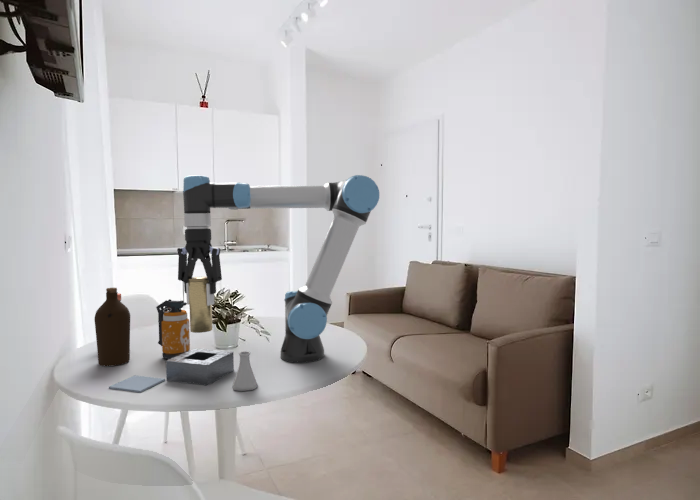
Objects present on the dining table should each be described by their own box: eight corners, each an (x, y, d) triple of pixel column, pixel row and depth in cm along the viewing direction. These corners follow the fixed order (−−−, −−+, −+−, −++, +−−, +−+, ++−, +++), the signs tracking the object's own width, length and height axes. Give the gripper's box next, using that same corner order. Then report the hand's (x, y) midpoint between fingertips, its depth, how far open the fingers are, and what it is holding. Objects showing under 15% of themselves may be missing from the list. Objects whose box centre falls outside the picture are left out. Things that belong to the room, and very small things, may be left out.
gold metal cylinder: (216, 328, 142) (215, 276, 141) (204, 333, 136) (202, 279, 134) (198, 327, 144) (197, 276, 142) (185, 332, 137) (183, 278, 136)
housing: (233, 370, 145) (233, 351, 145) (207, 385, 132) (207, 364, 131) (195, 366, 149) (195, 348, 149) (166, 380, 136) (166, 360, 135)
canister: (180, 361, 154) (179, 302, 153) (151, 359, 157) (149, 301, 155) (195, 353, 163) (193, 298, 162) (167, 352, 165) (165, 297, 164)
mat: (165, 380, 136) (165, 378, 136) (140, 392, 126) (140, 390, 126) (134, 376, 139) (134, 375, 139) (108, 388, 130) (108, 386, 130)
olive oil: (137, 361, 154) (134, 287, 153) (103, 369, 146) (101, 291, 145) (123, 355, 161) (121, 285, 160) (91, 362, 153) (88, 288, 152)
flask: (260, 382, 134) (259, 349, 133) (255, 391, 127) (255, 356, 126) (235, 382, 134) (234, 349, 133) (229, 392, 127) (228, 356, 126)
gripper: (233, 227, 138) (235, 303, 140) (178, 228, 144) (181, 300, 145) (218, 228, 131) (221, 307, 133) (162, 228, 137) (165, 305, 138)
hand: (200, 304), depth 139 cm, fingers closed on gold metal cylinder, 6 cm apart
